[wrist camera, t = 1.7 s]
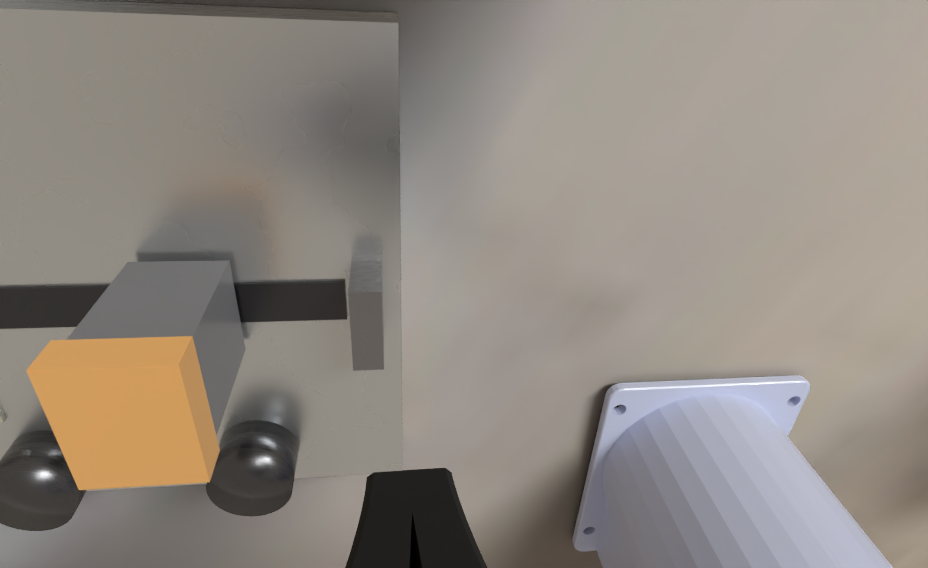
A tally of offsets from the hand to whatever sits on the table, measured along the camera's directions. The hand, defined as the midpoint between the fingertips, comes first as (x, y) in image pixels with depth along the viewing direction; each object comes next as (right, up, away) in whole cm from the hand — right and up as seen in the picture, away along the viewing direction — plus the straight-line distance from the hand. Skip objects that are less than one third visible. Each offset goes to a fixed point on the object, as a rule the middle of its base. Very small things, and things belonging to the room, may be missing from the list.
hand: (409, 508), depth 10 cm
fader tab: (-6, +3, +5) cm, 9 cm away
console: (-9, +4, +7) cm, 12 cm away
